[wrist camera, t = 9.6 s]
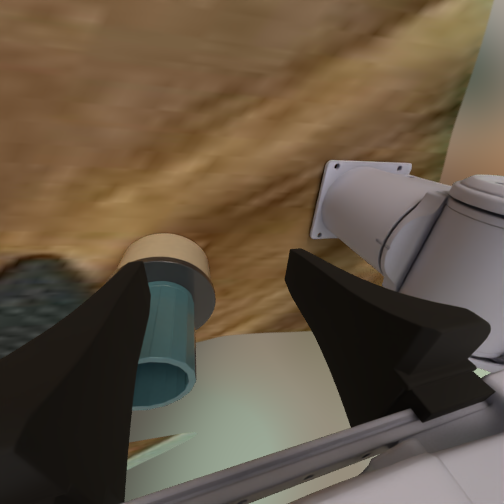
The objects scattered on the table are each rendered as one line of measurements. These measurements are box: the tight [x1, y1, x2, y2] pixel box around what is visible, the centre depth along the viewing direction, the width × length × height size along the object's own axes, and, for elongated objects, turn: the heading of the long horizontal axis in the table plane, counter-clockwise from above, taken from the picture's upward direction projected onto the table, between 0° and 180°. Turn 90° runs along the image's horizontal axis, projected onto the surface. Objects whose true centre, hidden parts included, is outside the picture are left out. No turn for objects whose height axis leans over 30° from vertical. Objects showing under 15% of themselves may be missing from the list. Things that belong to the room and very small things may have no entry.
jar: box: [106, 233, 216, 330], centre depth 20 cm, size 9×9×5 cm
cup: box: [132, 281, 196, 410], centre depth 15 cm, size 5×5×6 cm
